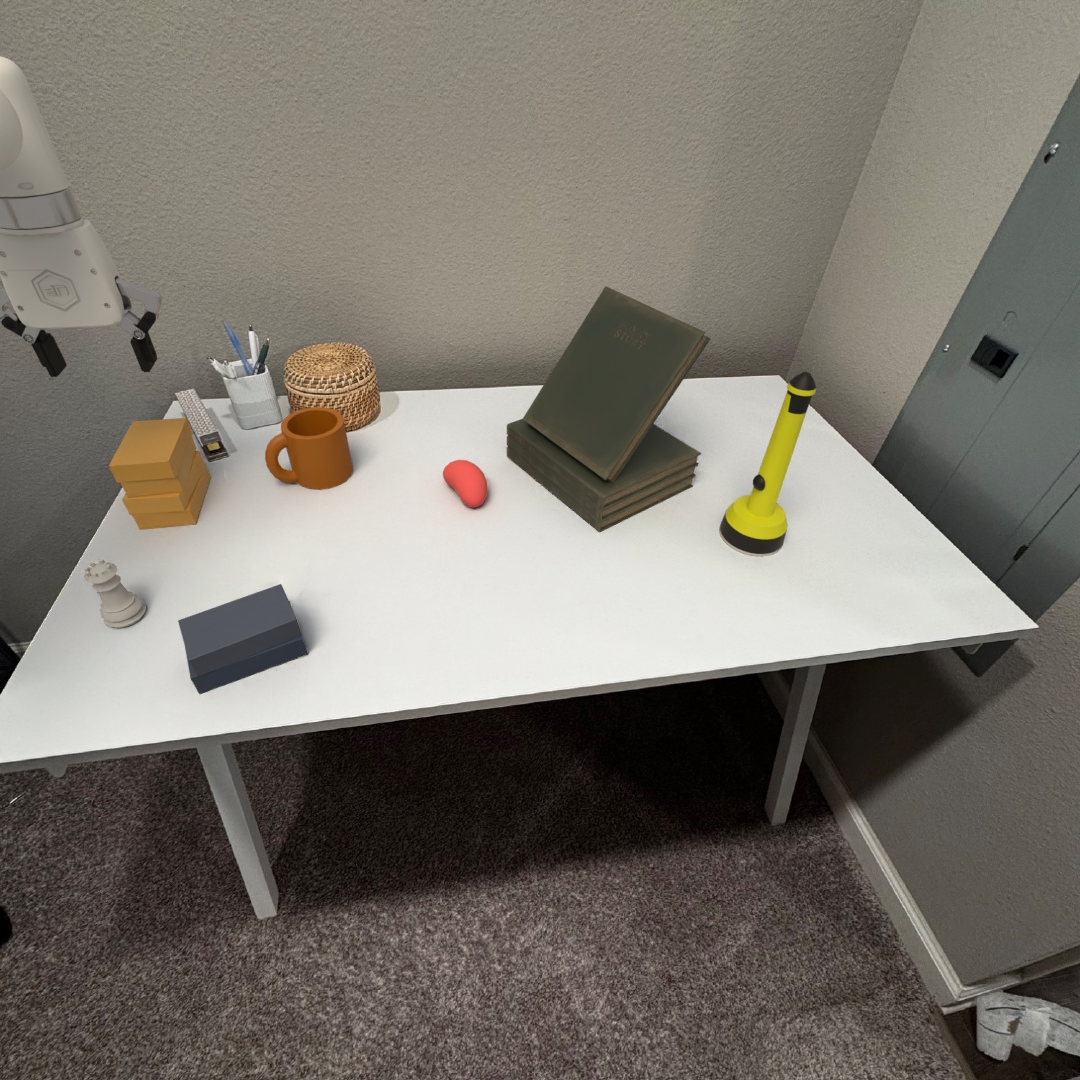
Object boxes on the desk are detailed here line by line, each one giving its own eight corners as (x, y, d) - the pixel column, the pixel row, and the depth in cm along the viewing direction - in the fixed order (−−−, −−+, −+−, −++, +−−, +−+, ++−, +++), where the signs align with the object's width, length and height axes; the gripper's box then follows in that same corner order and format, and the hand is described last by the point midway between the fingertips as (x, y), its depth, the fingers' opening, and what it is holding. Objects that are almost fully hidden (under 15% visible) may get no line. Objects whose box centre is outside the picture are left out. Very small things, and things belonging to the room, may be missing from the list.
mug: (269, 467, 97) (253, 416, 91) (347, 452, 101) (337, 402, 95) (276, 500, 91) (260, 448, 85) (359, 482, 95) (349, 431, 89)
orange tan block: (175, 477, 81) (168, 461, 80) (116, 482, 80) (108, 466, 78) (193, 433, 89) (186, 417, 88) (140, 437, 88) (132, 421, 86)
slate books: (199, 695, 66) (181, 662, 62) (191, 650, 70) (173, 617, 66) (309, 655, 70) (298, 622, 67) (295, 615, 75) (284, 582, 71)
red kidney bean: (483, 483, 98) (464, 448, 95) (500, 496, 90) (480, 460, 87) (455, 500, 97) (435, 466, 95) (470, 515, 90) (448, 479, 87)
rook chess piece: (135, 630, 72) (106, 582, 67) (97, 629, 72) (64, 580, 67) (154, 602, 75) (128, 554, 70) (117, 601, 75) (88, 552, 70)
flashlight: (815, 352, 77) (752, 360, 74) (864, 386, 70) (797, 395, 68) (760, 510, 93) (707, 521, 91) (796, 549, 87) (740, 561, 85)
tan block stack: (196, 525, 86) (176, 479, 81) (136, 531, 85) (112, 484, 80) (211, 477, 95) (194, 432, 90) (157, 481, 93) (137, 436, 88)
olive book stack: (506, 457, 101) (506, 303, 85) (597, 422, 111) (613, 278, 94) (598, 533, 88) (619, 368, 71) (693, 486, 97) (731, 331, 81)
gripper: (-86, 220, 58) (8, 388, 69) (117, 218, 61) (176, 379, 72) (-46, 201, 64) (35, 359, 75) (138, 200, 67) (190, 352, 78)
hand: (104, 369), depth 74 cm, fingers open, 9 cm apart
